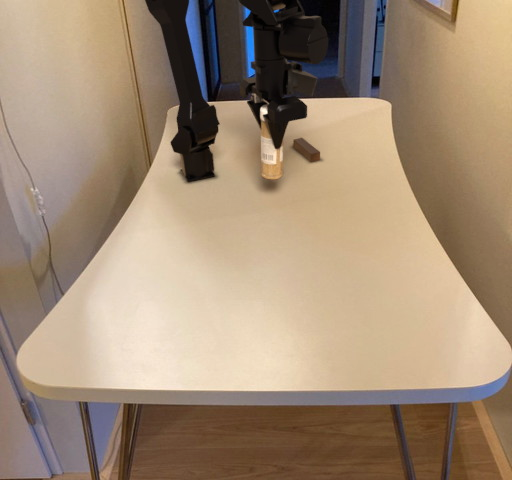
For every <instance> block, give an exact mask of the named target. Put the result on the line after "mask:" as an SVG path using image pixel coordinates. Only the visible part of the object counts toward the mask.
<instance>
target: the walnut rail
mask: <svg viewBox="0 0 512 480" xmlns="http://www.w3.org/2000/svg"><path fill="white" fill-rule="evenodd" d="M292 147H293V149H295V151H296V152H298V153H299V154H300V155H301V156H303V158H305V159H306V160H308V161H309V162H310V163H313V162H318V161H321V151H320V150H319V149H317V148H316V147H315V146H313V145H312V144H311V143H309V142H308V141H307V140H306V139H304V138H303V137H298V138H293V140H292Z"/></svg>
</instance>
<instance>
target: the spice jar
mask: <svg viewBox="0 0 512 480" xmlns="http://www.w3.org/2000/svg"><path fill="white" fill-rule="evenodd" d="M267 106H268V104H267V105H264V106H262V107H261V108H260V119H261V130H260V159H261V161H260V163H261V164H260V165H261V167H260V168H261V170H260V175H261V177H262V178H264V179H266V180H278V179H280V178H281V177H283V175H284V170H283V162H284V161H283V159H284V140H283V141H282V144H281V148H279V149H275V148H274V145H273V143H272V140H271V137H270V134H269V132H268V129H267V126H266V123H265V121H264V118H263V115H264V114H268V113H267Z"/></svg>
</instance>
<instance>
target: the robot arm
mask: <svg viewBox="0 0 512 480" xmlns="http://www.w3.org/2000/svg"><path fill="white" fill-rule="evenodd" d="M144 2H145V4H146V7H147V10H148V12H149V13H150V14H151V16H152V17H153V18H154V20H155V21H156V22H157V23H158V24H159V26H160V29H161V32H162V36H163V41H164V44H165V50H166V53H167V57H168V62H169V66H170V70H171V74H172V77H173V82H174V85H175V89H176V93H177V98H178V101H179V102H178V103H179V105H178V110H177V113H176V126H177V132H176V133H175V135H174V137H172V139H171V141H170V146H171V148H172V151H173V153H177V154H179V158H180V165H181V169H180V170H179V172H180V173H181V175H182V176H183V177H184V180H186V182H188V183H190V182H194V181H195V182H196V181H200V180H205V179H209V178H215V176H216V174H215V164H214V154H213V152H212V151H211V147H210V146H211V145H214V144H215V143H216V138H217V135H218V134H219V125H221V124H220V121H219V119H218V114H217V108H216V106H215V104H211V105H210V104H209V103H208V102H207V101H206V100H205V98H204V95H203V92H202V87H201V83H200V82H201V81H200V78H199V73H198V70H197V65H196V61H195V55H194V53H193V52H194V51H193V46H192V43H191V39H190V33H189V29H188V25H187V15H188V9H189V5H190V0H144ZM238 3H239V4H240V5H241V6H242V7H244V8H245V9H247V10H248V11H250V12H249V13H248V15H247V16H246V17H245V18H244V20H243V21H242V26H244V27H249V28H250V27H251V28H252V37H253V41H252V42H253V56H254V57H253V60H251V61H250V68H251V69H252V70H253V71H254V76H251V77H246V78H243V79H242V80H241V82H240V83H239V95H240V96H241V97H242V98H244V99H248V97H249V95H250V100H247V101H246V104H247V106H248V107H249V109H250V111H251V114H252V116H253V118H254V119H255V121H256V123H257V125H258V127H259V129H260V131H261V119H260V108H261V107H262V106H264V105H267V104H268V106H267V113H268V114H264V115H263V118H264V121H265V123H266V126H267V129H268V132H269V134H270V137H271V140H272V143H273V145H274V148H275V149H279V148H281V144H282V141H283V142H284V139H285V134H286V130H287V127H288V125H289V123H290V122H293V121H298V120H305V119H306V118H308V105H307V104H306V103H305V102H304V100H301V99H300V98H298V97H297V96H296V95H294V93H295V92H296V93H297V92H298V93H301V94H304V95H307V96H309V97H313V95H314V91H315V89H316V86H317V82H318V79H319V78H318V77H317V76H315V75H313V74H311V73H310V72H308V71H305V70H304V69H303V65H302V64H301V63H304V64H310V65H319V64H320V63H322V61H323V60H324V59H325V56H326V54H327V51H328V48H329V37H328V32H327V30H326V28H325V26H324V25H322V16H319V15H311V16H309V15H308V16H307V15H306V12H305V10H304V7H303V6H302V3H301V1H300V0H238ZM290 61H291V62H290ZM285 96H287V97H285Z"/></svg>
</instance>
